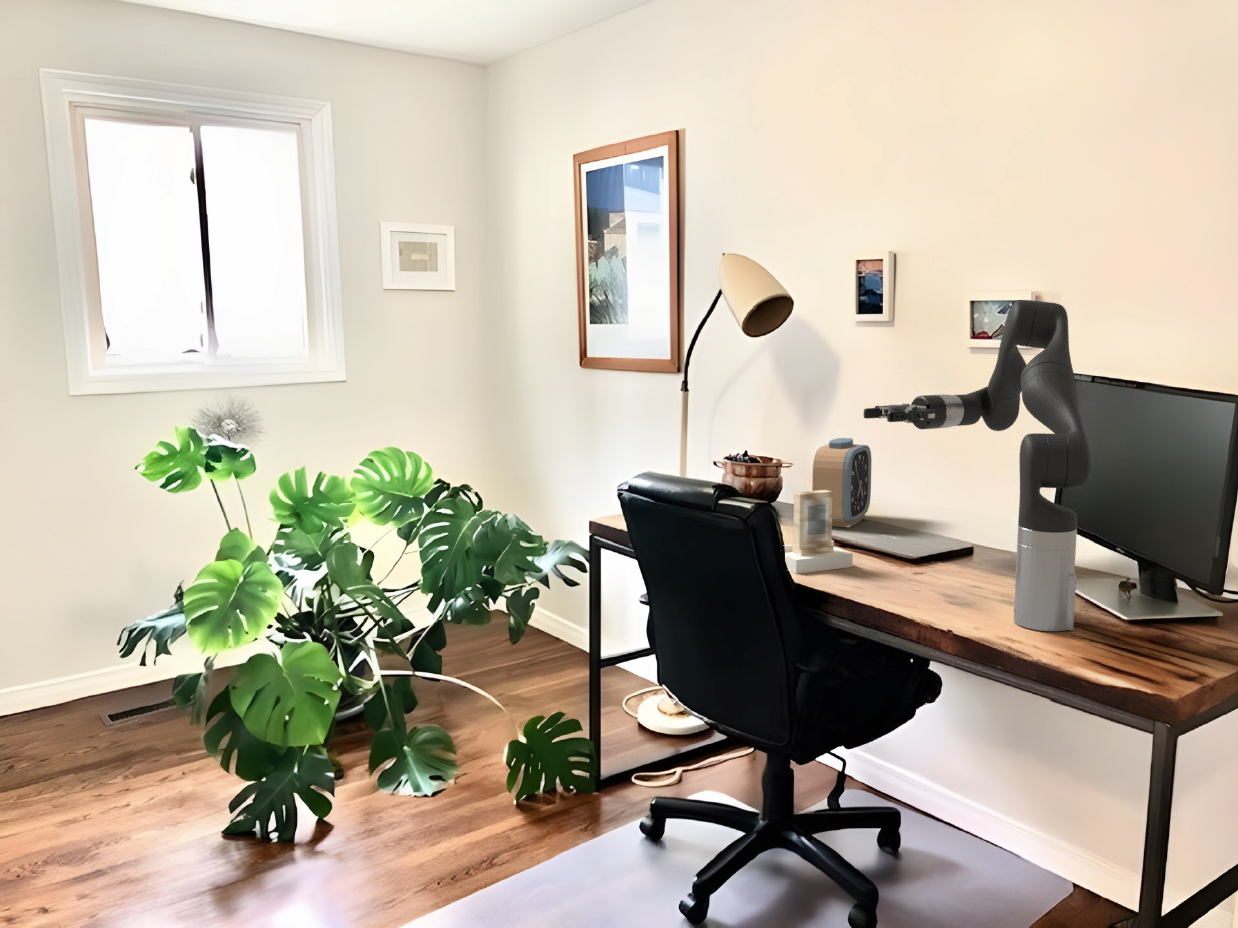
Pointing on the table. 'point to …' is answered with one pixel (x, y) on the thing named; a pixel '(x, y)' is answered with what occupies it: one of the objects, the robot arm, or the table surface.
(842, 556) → the white rectangular block
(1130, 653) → the table surface
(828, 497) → the frame
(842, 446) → the alarm clock
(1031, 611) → the robot arm
